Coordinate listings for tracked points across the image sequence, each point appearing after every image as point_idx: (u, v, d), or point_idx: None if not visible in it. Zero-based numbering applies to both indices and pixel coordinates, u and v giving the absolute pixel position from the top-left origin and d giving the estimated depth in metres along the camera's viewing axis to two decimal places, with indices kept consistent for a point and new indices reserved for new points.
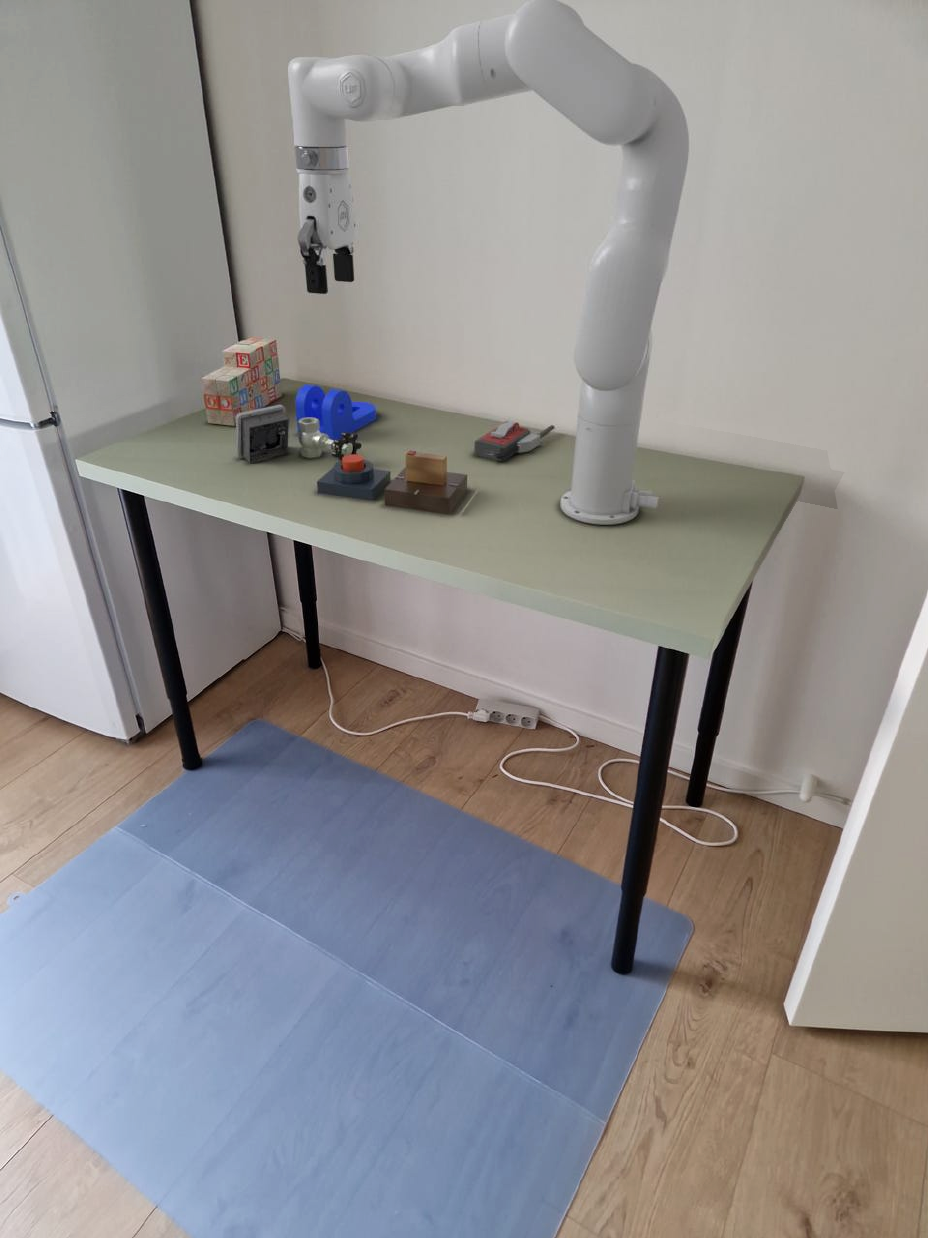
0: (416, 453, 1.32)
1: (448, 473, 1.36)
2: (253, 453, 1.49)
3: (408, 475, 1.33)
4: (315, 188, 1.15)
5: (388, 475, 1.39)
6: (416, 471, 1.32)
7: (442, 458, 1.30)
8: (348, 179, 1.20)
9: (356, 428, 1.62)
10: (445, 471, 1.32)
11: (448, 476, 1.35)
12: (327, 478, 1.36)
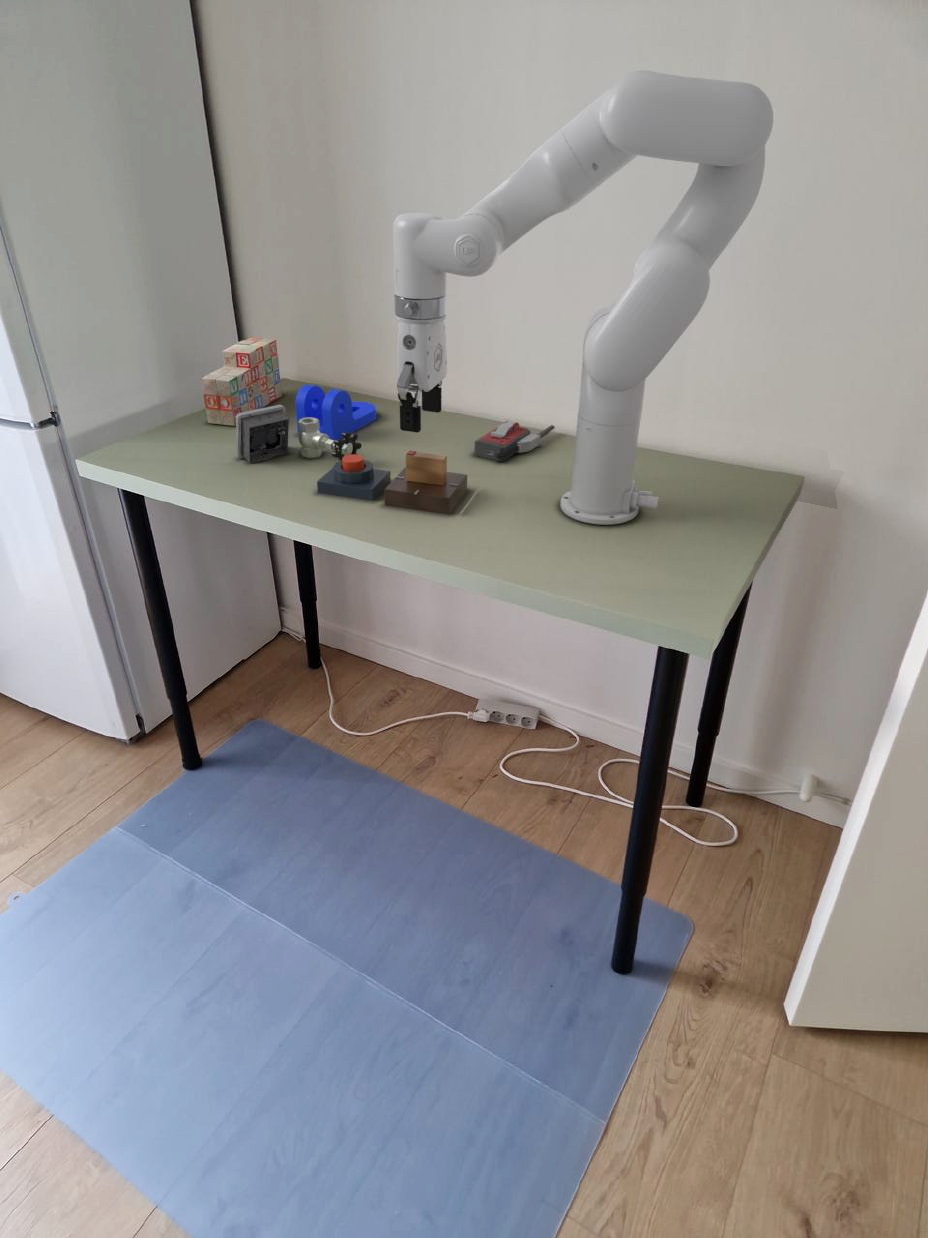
0: (416, 453, 1.32)
1: (448, 473, 1.36)
2: (253, 453, 1.49)
3: (408, 475, 1.33)
4: (415, 337, 1.17)
5: (388, 475, 1.39)
6: (416, 471, 1.32)
7: (442, 458, 1.30)
8: (443, 321, 1.22)
9: (356, 428, 1.62)
10: (445, 471, 1.32)
11: (448, 476, 1.35)
12: (327, 478, 1.36)
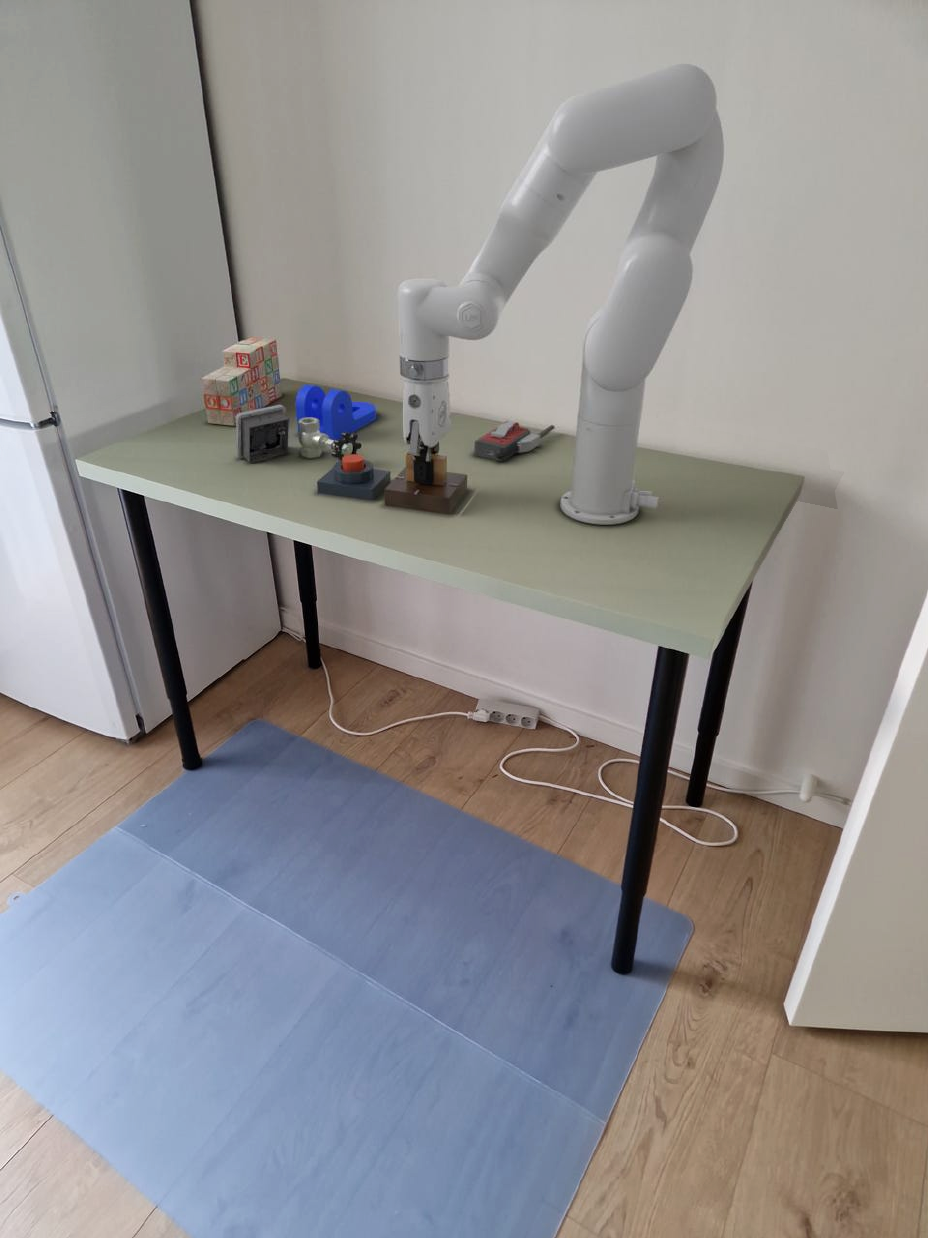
0: None
1: (448, 473, 1.36)
2: (253, 453, 1.49)
3: (408, 475, 1.33)
4: (420, 397, 1.21)
5: (388, 475, 1.39)
6: None
7: (442, 458, 1.30)
8: (446, 379, 1.27)
9: (356, 428, 1.62)
10: (445, 471, 1.32)
11: (448, 476, 1.35)
12: (327, 478, 1.36)
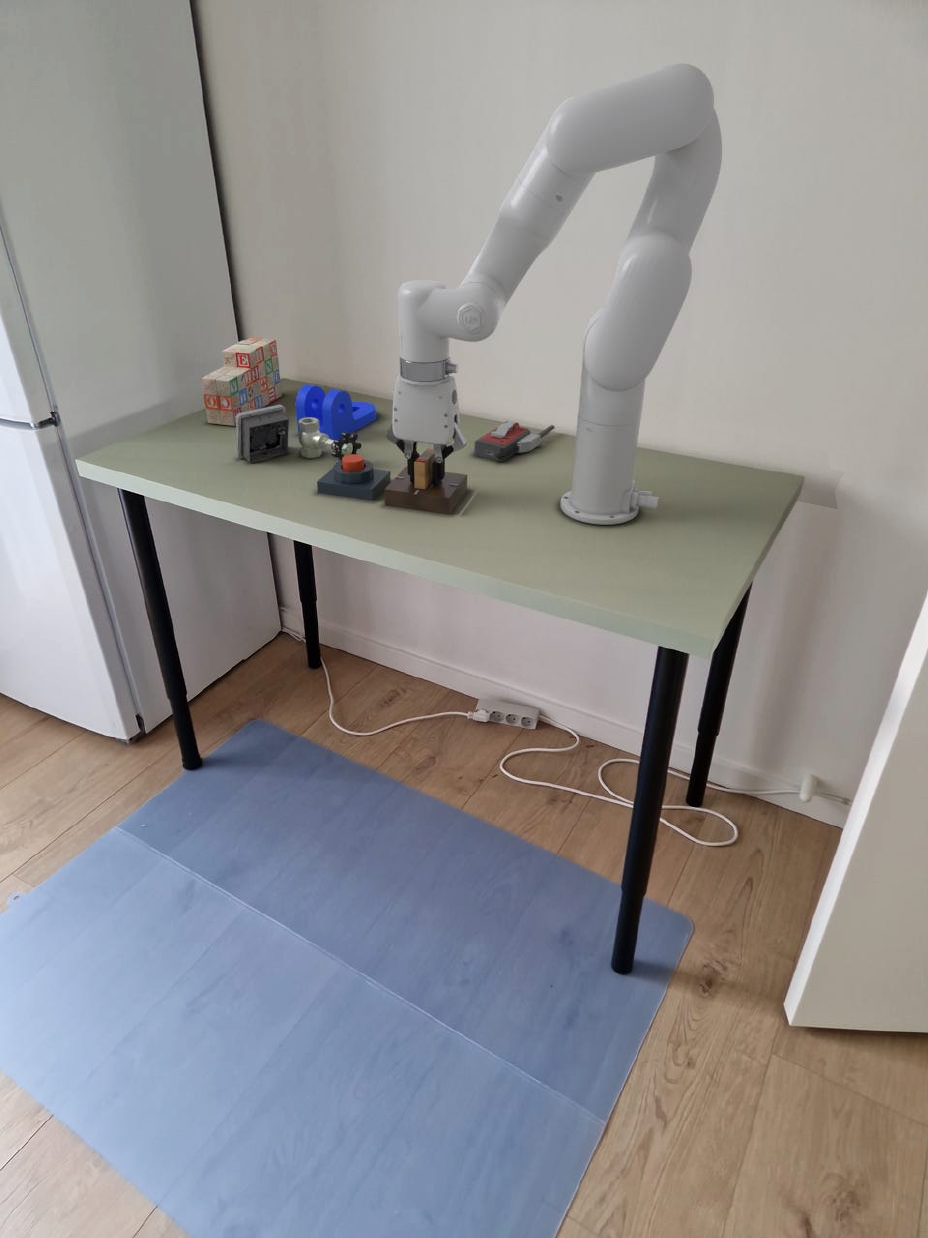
0: (420, 459, 1.30)
1: (448, 473, 1.36)
2: (253, 453, 1.49)
3: (426, 482, 1.30)
4: (456, 390, 1.25)
5: (388, 475, 1.39)
6: (428, 474, 1.31)
7: None
8: None
9: (356, 428, 1.62)
10: None
11: (448, 476, 1.35)
12: (327, 478, 1.36)
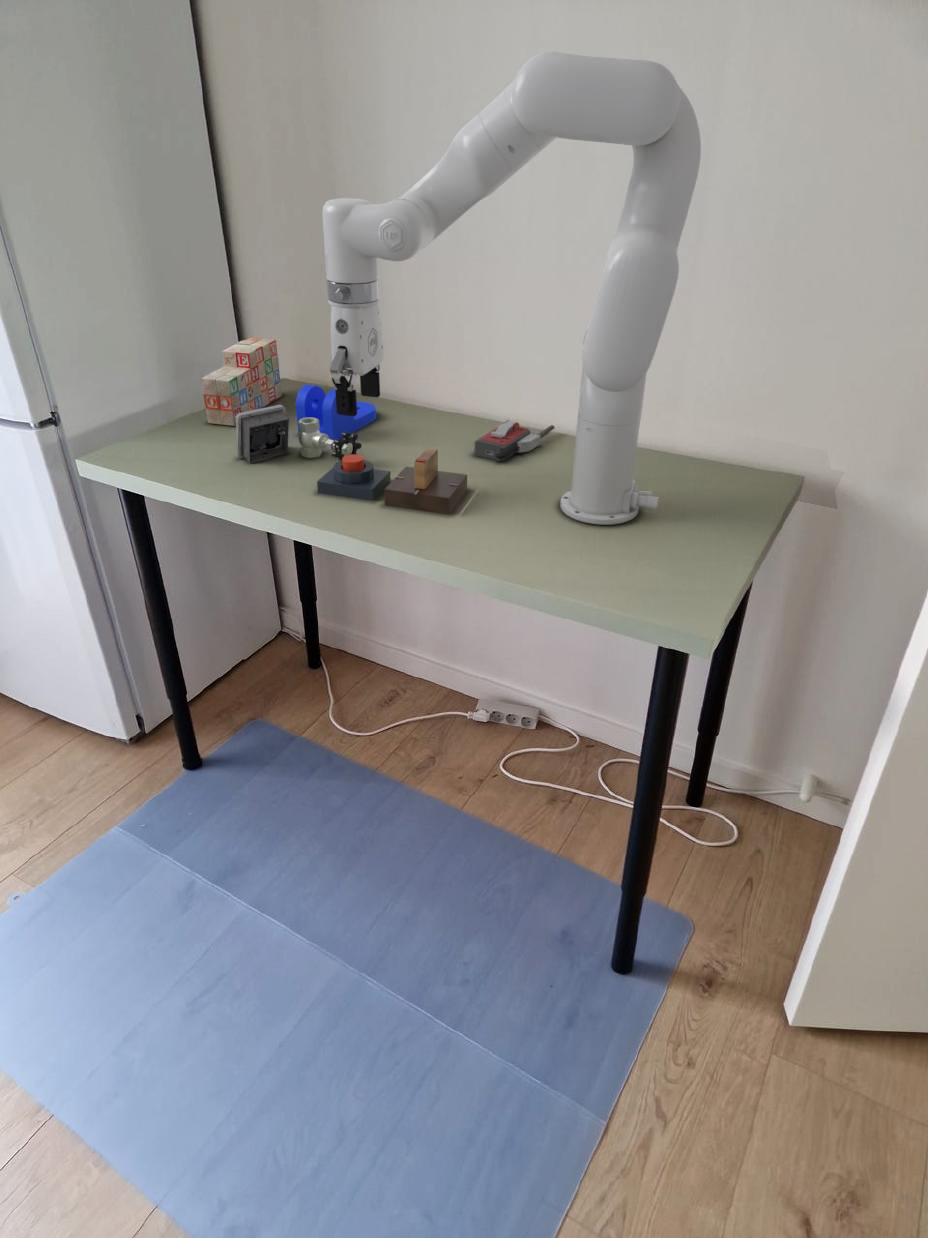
0: (420, 459, 1.30)
1: (448, 473, 1.36)
2: (253, 453, 1.49)
3: (426, 482, 1.30)
4: (347, 321, 1.18)
5: (388, 475, 1.39)
6: (428, 474, 1.31)
7: (434, 449, 1.33)
8: (377, 306, 1.24)
9: (356, 428, 1.62)
10: None
11: (448, 476, 1.35)
12: (327, 478, 1.36)
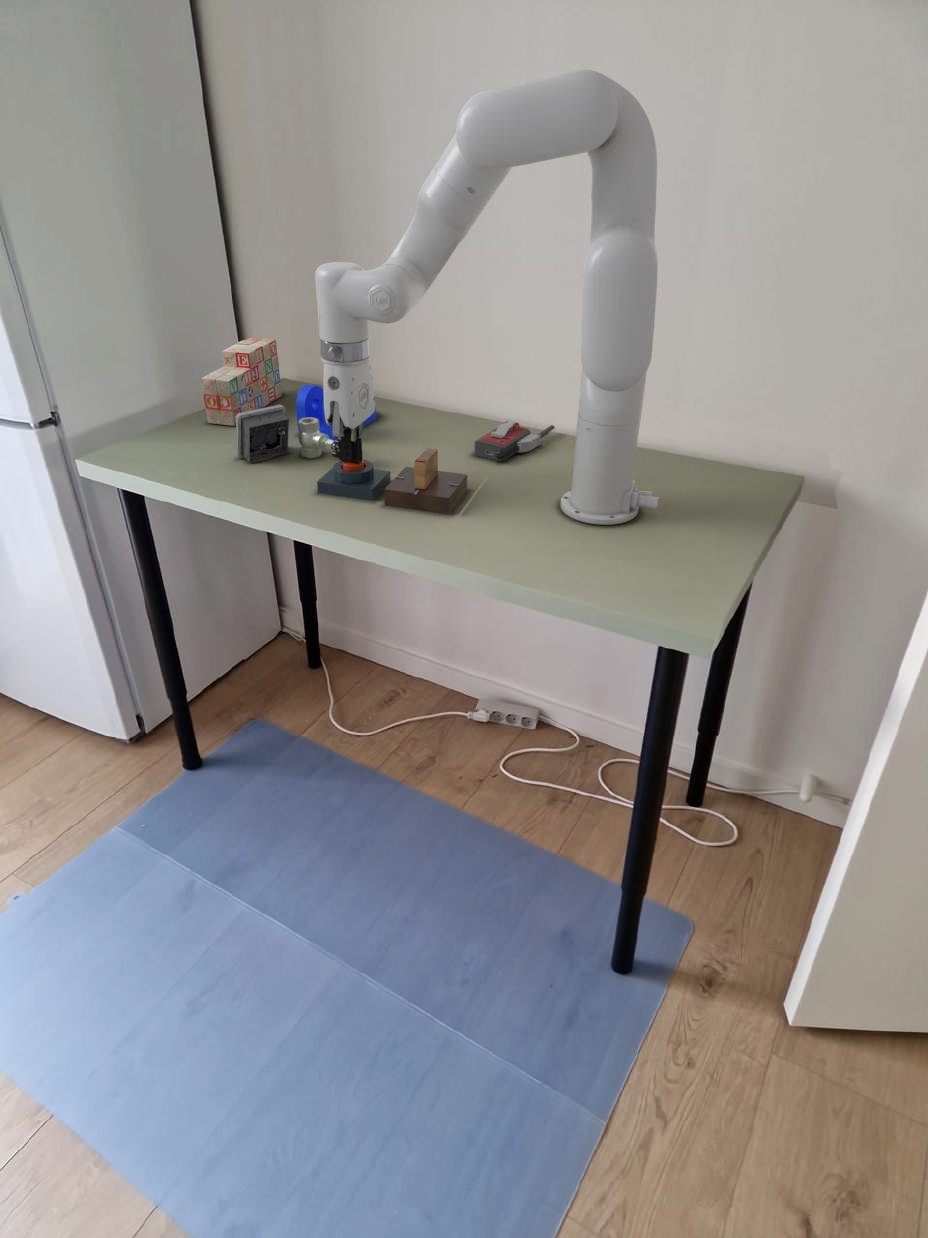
0: (420, 459, 1.30)
1: (448, 473, 1.36)
2: (253, 453, 1.49)
3: (426, 482, 1.30)
4: (339, 378, 1.23)
5: (388, 475, 1.39)
6: (428, 474, 1.31)
7: (434, 449, 1.33)
8: (368, 362, 1.29)
9: None
10: None
11: (448, 476, 1.35)
12: (327, 478, 1.36)
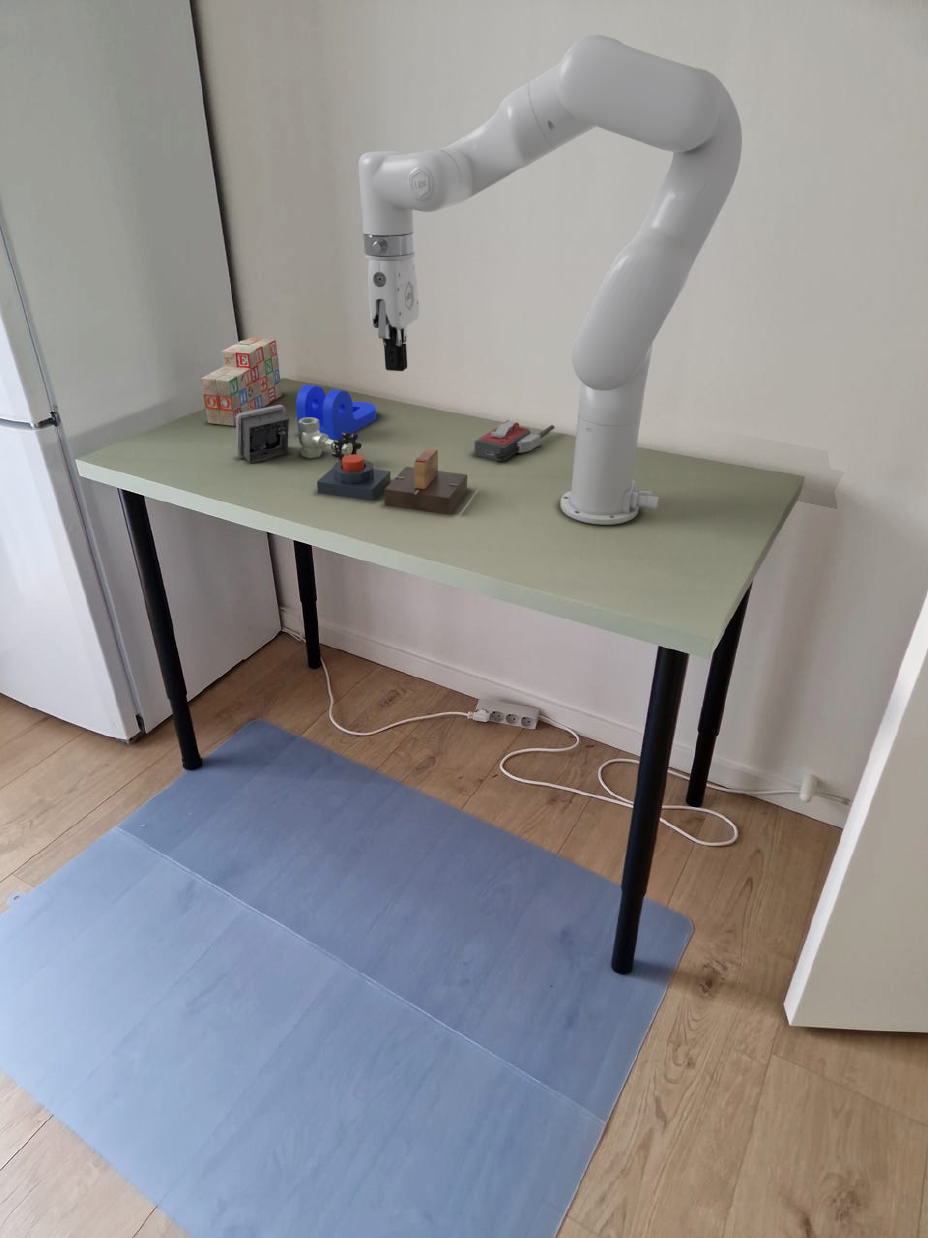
0: (420, 459, 1.30)
1: (448, 473, 1.36)
2: (253, 453, 1.49)
3: (426, 482, 1.30)
4: (385, 274, 1.19)
5: (388, 475, 1.39)
6: (428, 474, 1.31)
7: (434, 449, 1.33)
8: (412, 261, 1.25)
9: (357, 428, 1.62)
10: None
11: (448, 476, 1.35)
12: (327, 478, 1.36)
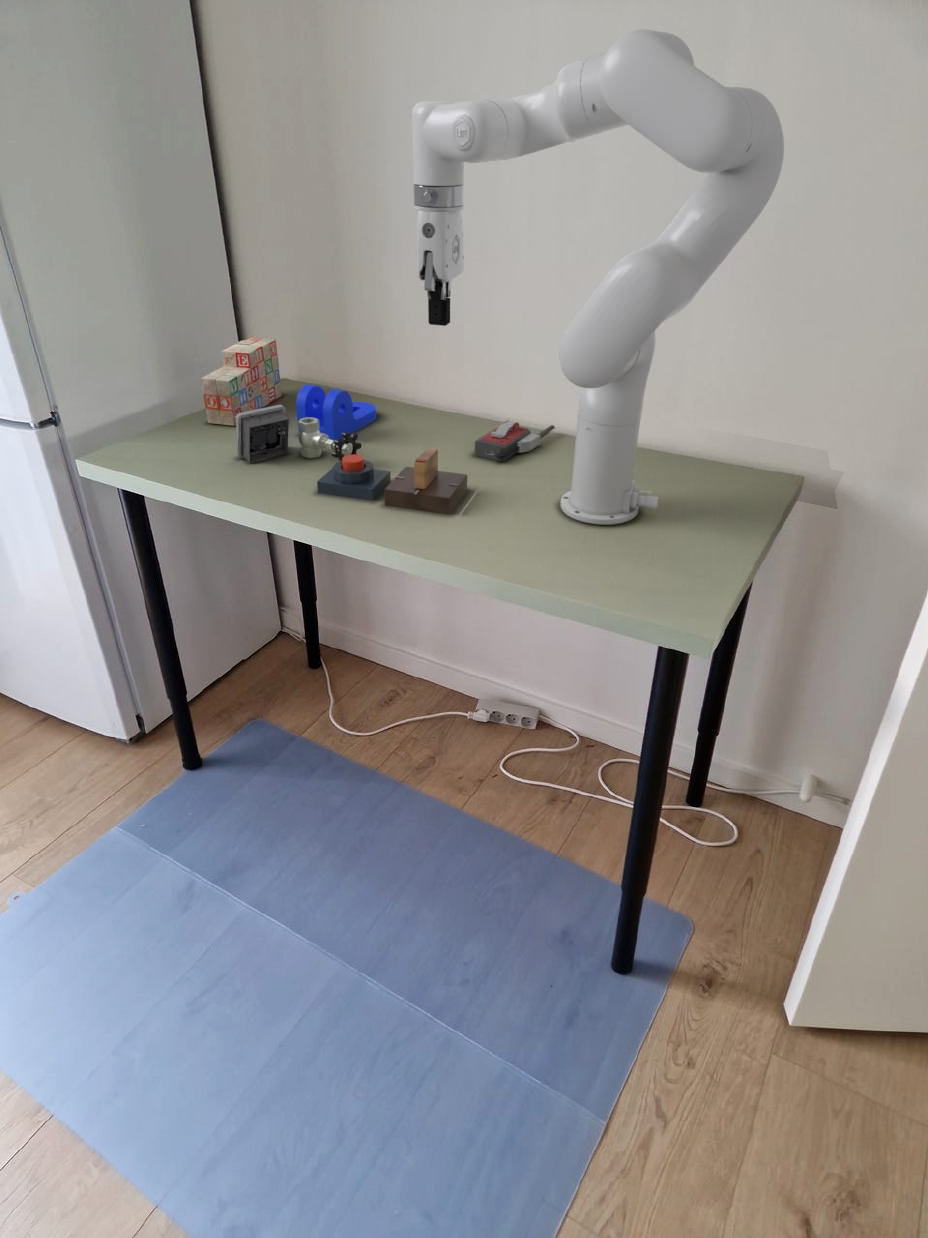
0: (420, 459, 1.30)
1: (448, 473, 1.36)
2: (253, 453, 1.49)
3: (426, 482, 1.30)
4: (434, 224, 1.20)
5: (388, 475, 1.39)
6: (428, 474, 1.31)
7: (434, 449, 1.33)
8: (460, 214, 1.26)
9: (357, 428, 1.62)
10: None
11: (448, 476, 1.35)
12: (327, 478, 1.36)
